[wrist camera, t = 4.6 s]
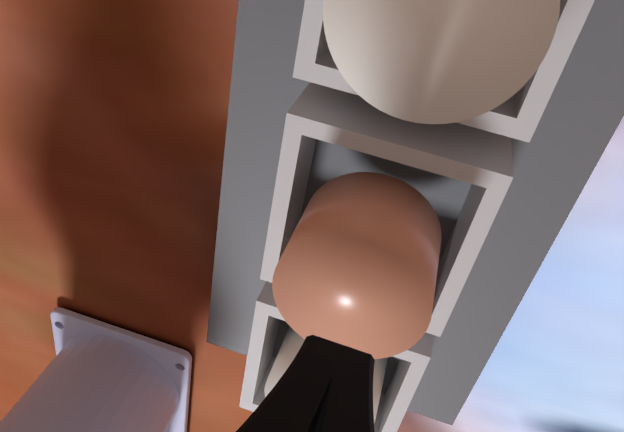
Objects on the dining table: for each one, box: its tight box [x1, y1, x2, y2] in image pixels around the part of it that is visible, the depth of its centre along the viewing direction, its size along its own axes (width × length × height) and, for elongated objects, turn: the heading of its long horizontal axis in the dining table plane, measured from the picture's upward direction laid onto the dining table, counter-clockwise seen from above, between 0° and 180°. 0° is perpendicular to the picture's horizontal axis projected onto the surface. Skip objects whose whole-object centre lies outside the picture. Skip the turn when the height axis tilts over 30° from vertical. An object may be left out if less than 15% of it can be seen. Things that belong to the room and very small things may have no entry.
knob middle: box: [272, 172, 442, 359], centre depth 15 cm, size 4×4×3 cm
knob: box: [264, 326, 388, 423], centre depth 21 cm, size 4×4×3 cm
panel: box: [207, 0, 624, 432], centre depth 18 cm, size 20×11×5 cm, turn 170°
